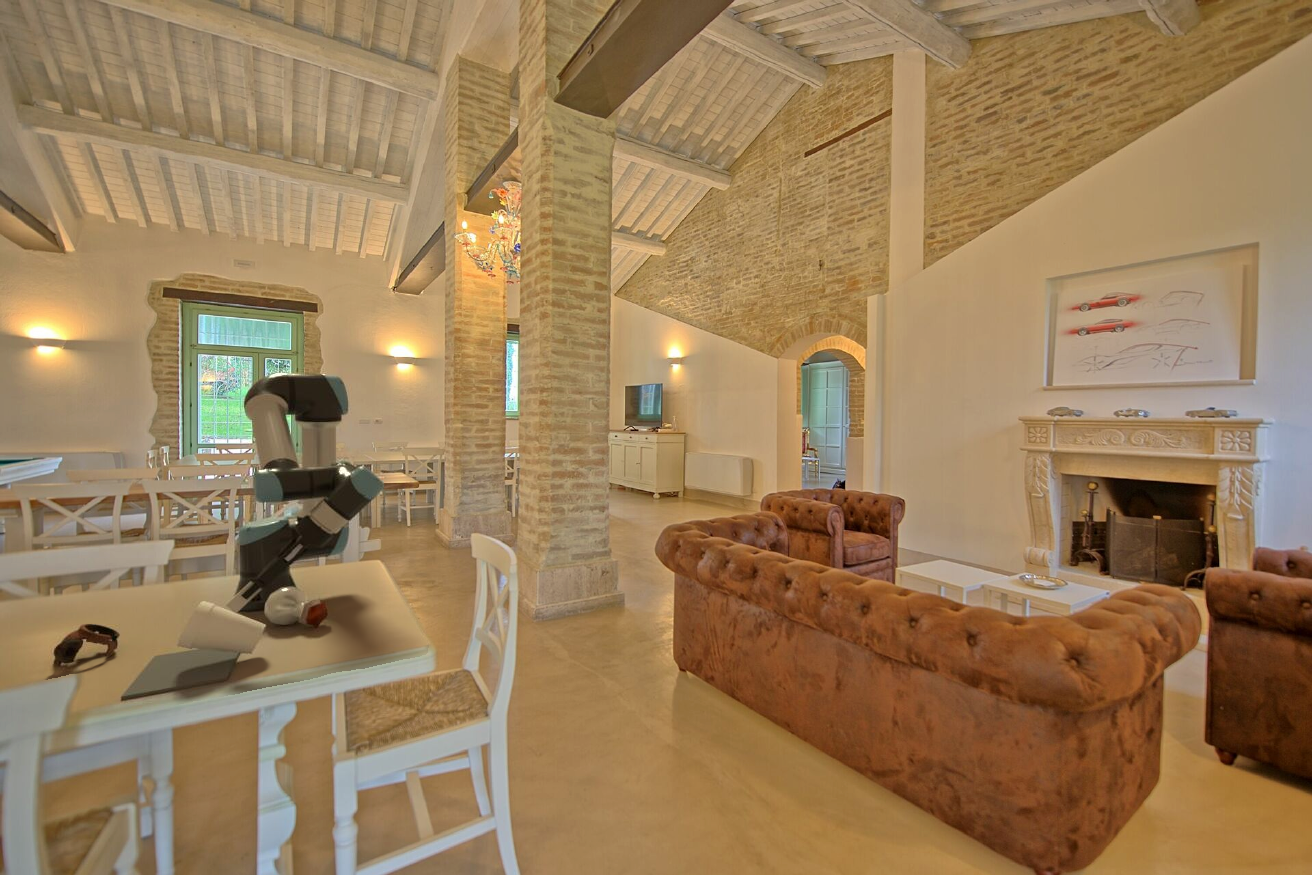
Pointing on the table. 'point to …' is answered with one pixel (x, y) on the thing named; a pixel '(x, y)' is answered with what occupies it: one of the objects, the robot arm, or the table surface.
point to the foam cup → (220, 630)
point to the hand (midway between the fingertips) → (231, 608)
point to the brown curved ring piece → (74, 641)
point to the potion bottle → (294, 608)
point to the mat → (182, 671)
